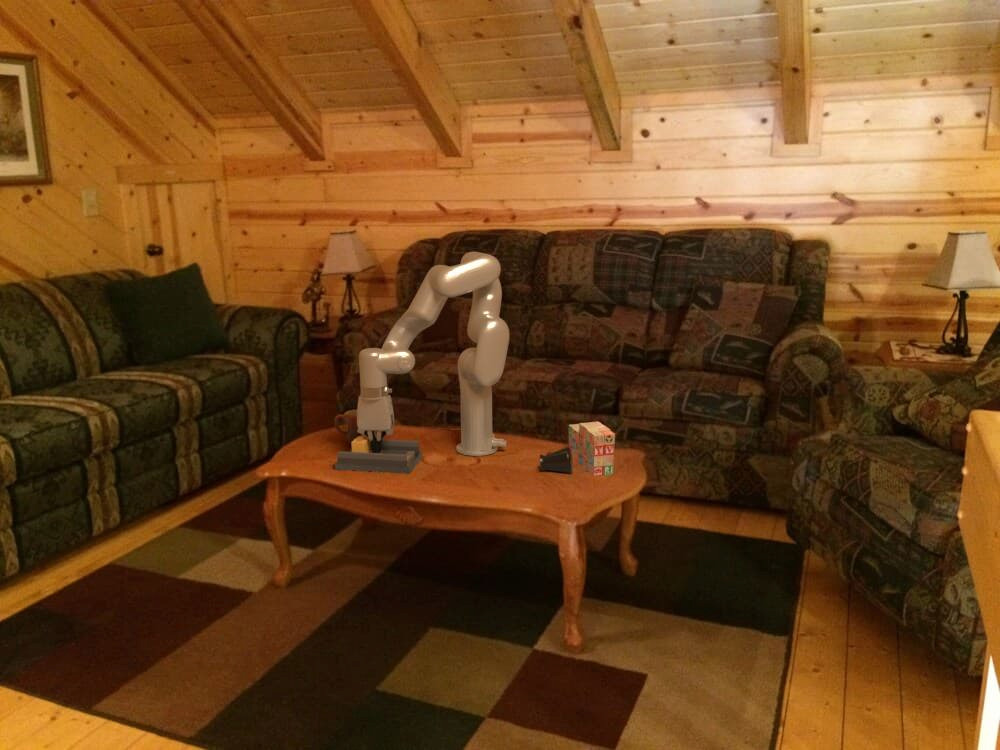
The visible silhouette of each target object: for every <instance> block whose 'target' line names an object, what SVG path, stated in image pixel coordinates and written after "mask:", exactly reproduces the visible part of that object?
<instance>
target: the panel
mask: <svg viewBox="0 0 1000 750" xmlns="http://www.w3.org/2000/svg"><path fill="white" fill-rule="evenodd" d="M347 452H352V447H351V448H350V449H349V450H348V451H347ZM380 453H383V454H403V455H407V466H406V467H390V466H370V465H351V464H338V460H337V461H336V462H335V463H334V470H335V471H347V470H359V471H358V472H366V471H374V472H373V473H385V472H390V473H389V474H404V473H406V474H407V475H408V474H409V475H410V474H411V473H412V472H413V471H414V470H415V468H416V467H415V466H417V465H418V464H419V463H420V462H421V461H422V460H423V451H419V452H418V453H415V451H406V450H385V449H382V450H381V452H380ZM420 460H421V461H420ZM419 461H420V462H419ZM376 471H377V472H376Z"/></svg>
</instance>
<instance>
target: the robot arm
mask: <svg viewBox="0 0 1000 750" xmlns="http://www.w3.org/2000/svg"><path fill="white" fill-rule="evenodd" d="M501 270H502V269H501V264H500V262H499V260H498V259H497V258H496V257H495V256H493V255H491V254H488V253H483V252H479V251H469V252H466V253H465V254H463V256H462V258H461V260H460V264H459V263H458V264H456V265H451V266H450V265H449V266H448V265H446V264H436V265H434V266H432V267H431V268H430V269H429V270H428V271H427V273H426V275H425V277H424V279H423V281H422V283H421V284H420V287H419V288H418V290H417V293H416V294H415V296H414V297H413V299H412V302H411V303H410V305H409V306H408V308H407V309H406V311H405V312H404V313H403V314H402V315H401V317H399V318H398V320H397V321H396V322H395V324H394V325H393V327H391V329H390V331H389V333H388V335H387V337H386V338H385V340H384V341H383V345H382V347H381V348H379V347H370V348H369V347H367V348H364V349H362V350H361V351H360V352H359V355H358V361H359V363H358V365H359V366H358V367H359V384H360V395H359V396H358V398H357V399H358V400H357V409H356V410H357V427H358V431H357V432H358V433H361V434H365V435H366V436H367V437H368V438H369V440H370V442H371V450H372V453H380V452H381V450H382V439H383V438H384V437H385V436H389V435H393V434H394V433H395V430H394V425H395V413H394V406H393V401H392V397H391V395H390V394H391V393H392V392H393V389H392V387H391V388H390V387H389V385H388V379H387V378H388V377H387V376H388V375H387V374H393V375H404V374H407V373H410V372H411V371H412V370H413V368H414V367H415V364H416V358H415V355H414V354H413V352H412V351H411V350H409V349H410V346H411V344H412V343H413V341H414V339H416V337H417V336H418V334H420V333H421V332H422V331H424V330H426V329H428V328H429V327H430V326H432V325H434V324H435V322H436V321H437V319H438V317H439V316H440V314H441V311H442V309H443V308H444V306H445V304H446V302H447V300H448V298H456V297H459V296H463V295H464V294H469V293H471V292H472V301H471V307H470V314H469V319H468V323H467V336H468V338H469V339H470V340H471V341H472V342H473V343H475V344H477V345H476V347H469V348H466V349H465V350H463V351H462V352H461V354H460V355H459V358H458V359H457V374H458V381H459V390H460V391H459V393H460V441H461V442H459V443H458V444H457V445H456V447H455V449H456V452H458V454H461V455H464V456H470V457H471V456H472V457H482V456H488V455H491V454H494V453H496V452H497V451H498V447H507V440H505V439H504V438H497V437H496V435H495V433H493V393H492V392H493V389H492V386H494V385H495V384H497V383H498V382H499V381H500V379H501V378H502V376H503V374H504V369H505V364H506V359H507V355H508V349H509V344H510V343H509V342H510V329H509V327H508V324H507V322H506V321H505V320H503V319H502V318H501V317H500V313H501V306H502V296H503V294H502V293H503V290H502V284H501V281H500V278H499V277H500V275H501Z"/></svg>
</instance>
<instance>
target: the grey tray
mask: <svg viewBox="0 0 1000 750" xmlns="http://www.w3.org/2000/svg"><path fill="white" fill-rule="evenodd" d="M355 439H356V438H354V439H353V440H355ZM382 449H385V450H406V451H415V453H418V452H420V441H419V440H407V439H405V440H403V439H402V440H401V439H385V438H384V439H383V438H382ZM337 461H338V464H351V465H370V466H390V467H406V466H407V455H403V454H383V453H362V452H348V451H341V450H340V451H338V452H337Z"/></svg>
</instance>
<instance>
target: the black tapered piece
mask: <svg viewBox="0 0 1000 750" xmlns="http://www.w3.org/2000/svg"><path fill="white" fill-rule="evenodd" d="M573 463H574V462H573V457H572V455H571V450H570V448H569V446H566V447H564V448H561V449H558V450H556V451H555V450H553V449H552V450H549V451H547V452H546V455H544V454H540V455H539V464H540V468H541V472H542V473H543V472H545V471H551V472H559V473H565V474H572V473H573V472H574V468H573V467H574V465H573Z"/></svg>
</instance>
